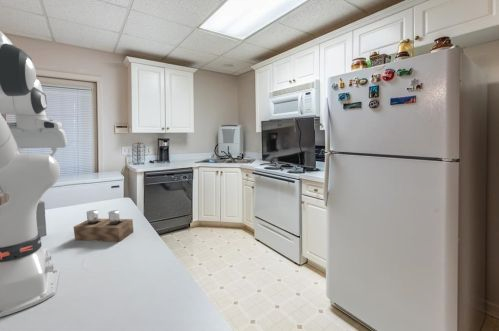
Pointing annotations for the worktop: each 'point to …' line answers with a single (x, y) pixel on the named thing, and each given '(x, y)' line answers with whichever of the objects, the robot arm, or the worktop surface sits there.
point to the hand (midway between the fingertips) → (36, 159)
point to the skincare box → (41, 218)
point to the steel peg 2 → (114, 217)
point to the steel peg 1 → (92, 217)
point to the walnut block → (103, 231)
